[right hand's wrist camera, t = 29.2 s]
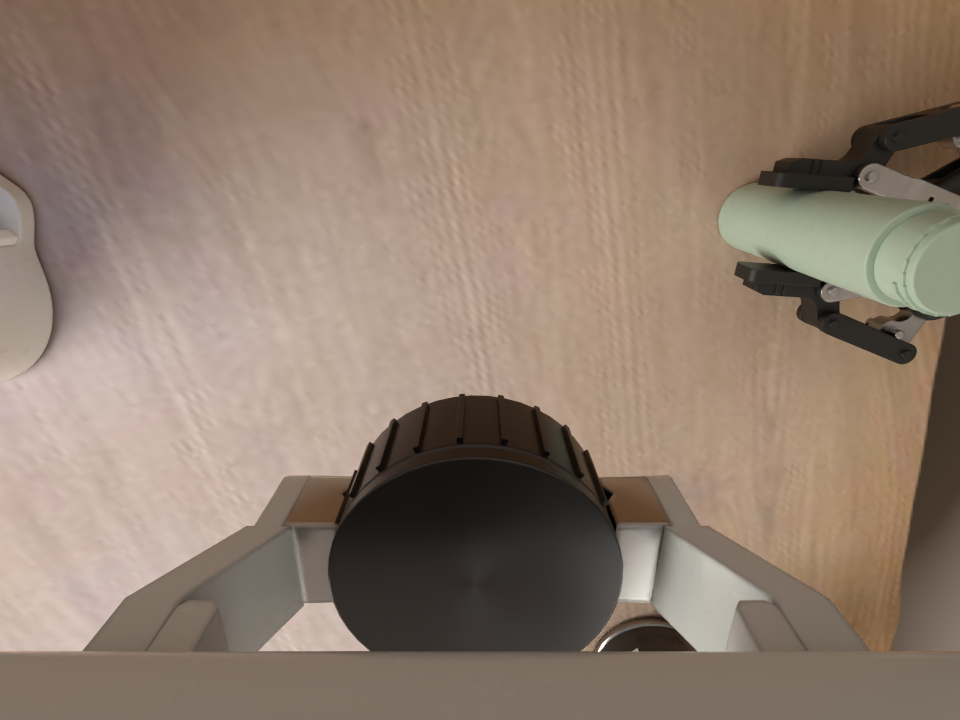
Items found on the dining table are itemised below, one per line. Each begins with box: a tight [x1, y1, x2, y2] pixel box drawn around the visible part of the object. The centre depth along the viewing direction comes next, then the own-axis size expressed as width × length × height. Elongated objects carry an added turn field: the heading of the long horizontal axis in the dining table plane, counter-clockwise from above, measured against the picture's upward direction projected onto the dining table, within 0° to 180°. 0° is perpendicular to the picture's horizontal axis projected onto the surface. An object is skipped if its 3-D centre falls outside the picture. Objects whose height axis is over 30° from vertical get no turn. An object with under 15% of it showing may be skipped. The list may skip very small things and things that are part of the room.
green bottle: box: [718, 183, 960, 317], centre depth 25 cm, size 4×4×15 cm
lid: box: [328, 394, 623, 652], centre depth 10 cm, size 5×5×2 cm
